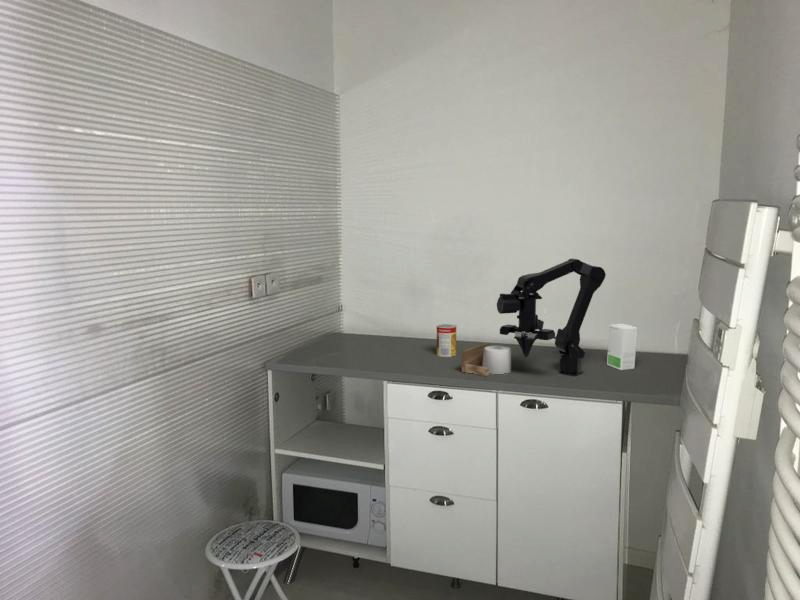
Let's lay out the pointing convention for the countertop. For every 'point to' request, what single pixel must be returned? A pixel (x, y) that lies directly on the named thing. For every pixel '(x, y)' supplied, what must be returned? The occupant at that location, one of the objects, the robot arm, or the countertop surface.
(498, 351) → the toilet tissue
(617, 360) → the skincare box
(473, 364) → the roll cradle
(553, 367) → the countertop surface
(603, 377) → the countertop surface
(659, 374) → the countertop surface
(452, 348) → the canned food
